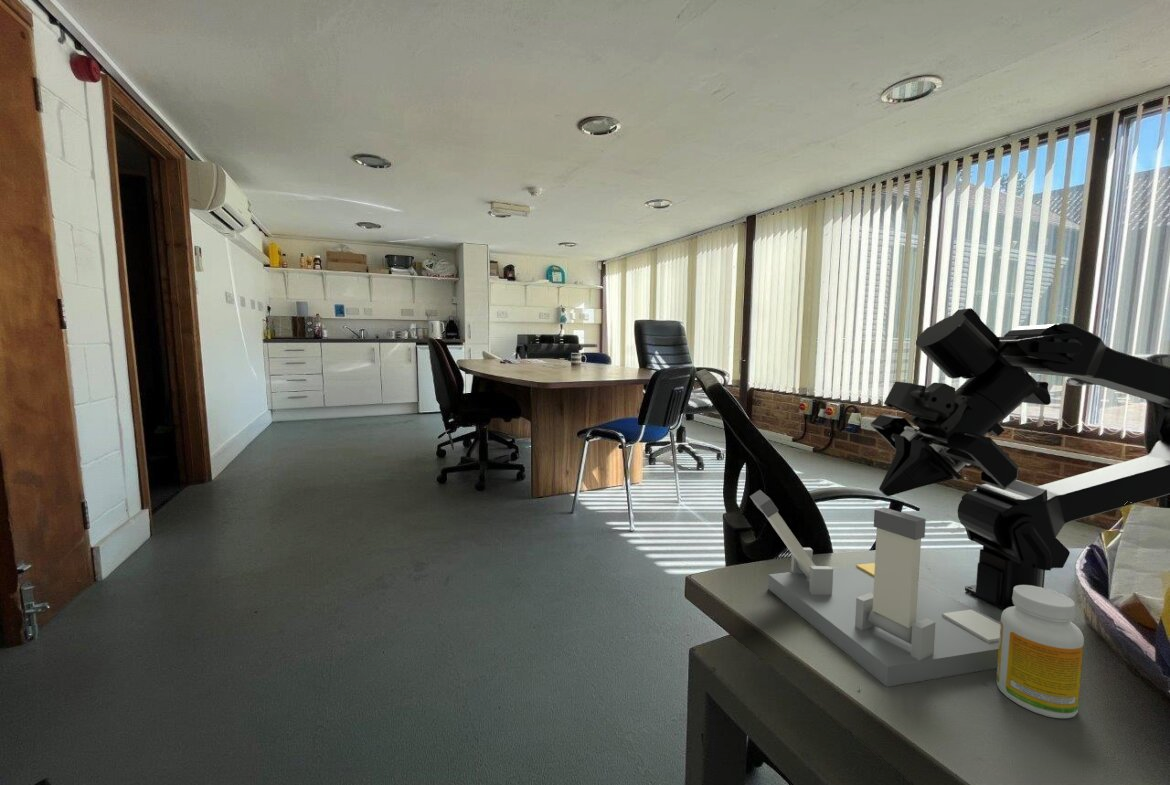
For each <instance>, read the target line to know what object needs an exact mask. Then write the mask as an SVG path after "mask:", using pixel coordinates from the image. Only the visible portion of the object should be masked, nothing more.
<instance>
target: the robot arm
mask: <svg viewBox="0 0 1170 785" xmlns="http://www.w3.org/2000/svg"><path fill="white" fill-rule="evenodd" d="M915 345H916V347H917V348H919V350H920V351H921V352H922V353H923V354H924V355H926V357H927V358H929V359H930V360H931V362H932V363H933V364H935V365H936V366H937V368H938V369H939V370H941V372H942V373H944V375H945V376H946V377H948V378H950V379H959V378H962V379H965V380H966V381H965V382H963V384H961V385H960V386H959V387H958V388H957V389H956V387H954V386H951V385H950V384H947V383H944V382H943V383H942V382H933V383H931V384H930V385H929V386H926V385H923V384H917V383H913V382H904V381H894V382H893V385H892V386H891V388H890V390H889V392H888V394H887V396H886V398H885V400H884V402H883V405H885V406H886V407H889V408H895V409H898V410H900V411H902V412H904V413H906V414H908V415H910V416H909V418H908V420H909V421H910V422H911V423H912V424H913V425H912V424H911V423H910V422H909V421H908V420H907V419H906V418H905V417H902V416H897V415H892V414H879V415H878V416H877V417H876V418H875V419H874V420H873V421H872V422H871V423H870V426H871V427H872V429H874V430H875V431H876V432H877V434H879V436H881V437H882V439H883V440H885V442H886V443H887V444H889V446H890V447H892V449H893V450H895V454H894V456H893V459H892V462H891V464H890V465H889V467H888V470H887V472H886V473H885V476H884V478H883V480H882V481H881V483H880V486H879V488H878V490H879V491H880V492H881V493H882V494H883V495H884V496H885V497H891V496H894V495H898V494H901V493H904V492H908V491H911V490H915V489H918V488H922V487H925V486H929V485H933V484H937V483H941V482H946V481H951V480H956V481H959V480H961V479H962V475H961V474H959V472H960V471H961V470H962V469H963V468H964V467H965V466H968V467H969V466H971V465H973V466H976V467H979V468H980V469H981V470H982V472H980V474H981V475H980V476H981V479H980V480H981V481H982V482H983V484H978V483H977V484H973V488H975V489H972V490H970V491H967V492H965V494H963V495H962V496H961V500H960V502H959V504H958V507H957V518H958V520H959V523H960V524H961V525H962V526H963V527H964V528H965V531H966V535H967V537H968V540H969V541H972V542H975V543H977V544H979V545H981V546H982V548H981V549H979V555H978V556H979V560H978V562H977V568H976V569H977V570H976V579H975V580H976V581H975V582H976V583H975V584H970V585H965V586H964V590H965V592H968V593H970V594H971V595H974V596H975V597H978V598H979V599H982V600H984V601H985V602H988V603H990V604H991V605H994V606H996V607H998V608H1000V609H1002V610H1003V611H1004V610H1005V609H1006V608H1008V607H1012V606H1015V605H1014V604H1013V600H1012V596H1013V589H1014V587H1015V586H1018V585H1031V586H1037V587H1042V588H1045V575H1046V571H1052V569H1063V568H1064V567H1065V565H1066V564H1067V563H1066V562H1067V561H1068V558H1069V557H1070V554H1071V552H1070V550H1069V549H1068V548H1067V547H1066V546H1065V544H1063V543H1062V542H1061V541H1060V540H1059V539H1058V538H1057V536H1058V535H1059V533H1060V531H1062V528H1063V527H1064V525H1066V524H1068V523H1070V522H1074V521H1078V520H1081V519H1085V518H1089V517H1092V516H1096V515H1099V514H1103V513H1106V512H1107V513H1108V512H1111V511H1113V510H1117V509H1121V508H1125V507H1128V506H1133V505H1135V504H1134V503H1136V504H1139V503H1142V502H1147V501H1150V500H1153V499H1157V498H1161V497H1165V496H1168V495H1170V366H1167V365H1164V364H1162V363H1157V362H1154V361H1151V360H1148V359H1145V358H1141V357H1138V356H1135V355H1131V354H1128V353H1126V352H1125V353H1124V352H1122V351H1118V350H1115V349H1113V348H1111V347H1109V346H1107V345H1106V344H1105V343H1104V341H1103V339H1102V338H1101V337H1100V336H1098V335H1096V334H1094V333H1092V332H1090V331H1089V330H1087V329H1086V328H1082V327H1081V326H1079V325H1076V324H1073V323H1068V322H1063V323H1062V322H1061V323H1048V324H1047V323H1044V324H1033V325H1030V324H1029V325H1019V326H1018V325H1017V326H1015V327H1013V328H1012V329H1010V330H1008V331H1007V332H1006V333H1005V334H1004V336H998V335H996V334H995V332H993V331H992V330H991V329H990V328H989V327H988V326H987V324H985V323H984V321H983V320H982V319H981V317H980V315H979V314H978V313H977V312H976V311H975V310H974V309H973V308H969V307H968V308H962V309H961V308H960V309H957V310H956V311H955V312H954V313H952V315H950V316H948V317H945V318H943V319H941V320H939V321H938V322H936V323H935V324H933V325H932V326H928V327H927V328H925V329H924V330H923V331H921V333H920V334H919V335H918V337H916V341H915ZM1032 374H1035V375H1036V374H1038V375H1045V376H1046V375H1047V376H1057V377H1065V378H1066V377H1067V378H1073V379H1078V380H1081V381H1084V382H1087V383H1090V384H1093V385H1097V386H1101V387H1104V388H1107V389H1111V390H1113V391H1116V392H1117V391H1118V392H1120V393H1123V394H1126V395H1130V396H1132V397H1133V396H1134V397H1136V398H1140V399H1143V400H1146V401H1150V402H1153V403H1156V405H1157V407H1158V409H1159V415H1158V418H1157V422H1156V425H1155V428H1154V431H1155V432H1154V433H1155V434H1156V436H1157V438H1158V441H1157V442H1155V443H1154V445H1153V447H1152V448H1151V450H1150V452H1148V454H1147V455H1144V456H1141V457H1136V458H1133V459H1129V460H1126V461H1123V462H1122V461H1121V462H1119V463H1116V464H1111V465H1108V466H1104V467H1101V468H1098V469H1097V468H1096V469H1094V470H1091V471H1088V472H1084V473H1080V474H1076V475H1072V476H1069V477H1066V478H1063V479H1058V480H1055V481H1052V482H1048V483H1045V484H1041V485H1033V484H1030V483H1027V482H1023V481H1021V480H1017V479H1019V477H1018V476H1019V465H1018V464H1017V463H1016V462H1015V461H1014V460H1013V459H1012V458H1011V457H1010V456H1009V455H1008V454H1007V453H1006V452H1005V451H1004V450H1003V449H1002V448H1001V447H1000V446H999V445H998V444H997V443H996V441H995V440H993V439H992V438H991V437H988V436H987V435H991V436H995V437H999V436H1000V435H1002V434H1003V433H1004V432H1005V428H1003V427H1002V426H1001V425H1000V424H1001V423H1002V422H1003V421H1004V420H1005V419H1006V418H1007V417H1008V416H1009V415H1011V414H1012V413H1013V412H1014V411H1015V410H1016V409H1017V408H1019V406H1021V405H1022V404H1023V403H1026V404H1035V405H1044V406H1049V405H1050V404H1051V403H1052V401H1051V394H1050V392H1049V389H1048V388H1049V382H1047V381H1037V380H1036V379H1035V378H1034V377H1033V376H1032ZM914 426H917V428H916V427H914ZM1127 501H1128V502H1127ZM1126 502H1127V503H1126ZM1130 502H1132V503H1130ZM1125 503H1126V504H1125ZM1124 504H1125V505H1124Z"/></svg>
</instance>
